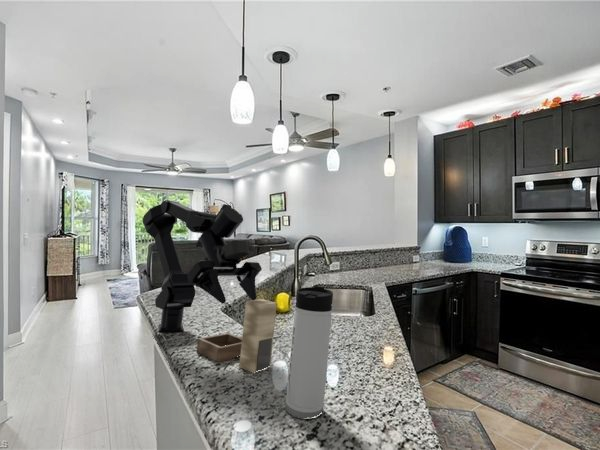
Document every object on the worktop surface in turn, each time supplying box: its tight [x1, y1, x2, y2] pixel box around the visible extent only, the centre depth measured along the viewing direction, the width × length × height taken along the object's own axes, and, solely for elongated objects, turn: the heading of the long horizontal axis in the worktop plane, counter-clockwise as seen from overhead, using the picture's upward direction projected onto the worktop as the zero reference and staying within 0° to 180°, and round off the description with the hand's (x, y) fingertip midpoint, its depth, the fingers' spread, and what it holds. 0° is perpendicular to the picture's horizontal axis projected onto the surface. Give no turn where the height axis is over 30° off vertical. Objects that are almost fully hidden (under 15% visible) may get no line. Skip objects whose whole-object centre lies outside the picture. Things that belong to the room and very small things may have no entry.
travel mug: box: [284, 285, 334, 419], centre depth 54 cm, size 6×7×20 cm
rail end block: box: [238, 299, 278, 374], centre depth 69 cm, size 5×5×14 cm
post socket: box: [196, 332, 242, 363], centre depth 76 cm, size 8×9×3 cm
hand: (240, 301), depth 74 cm, fingers open, 9 cm apart
